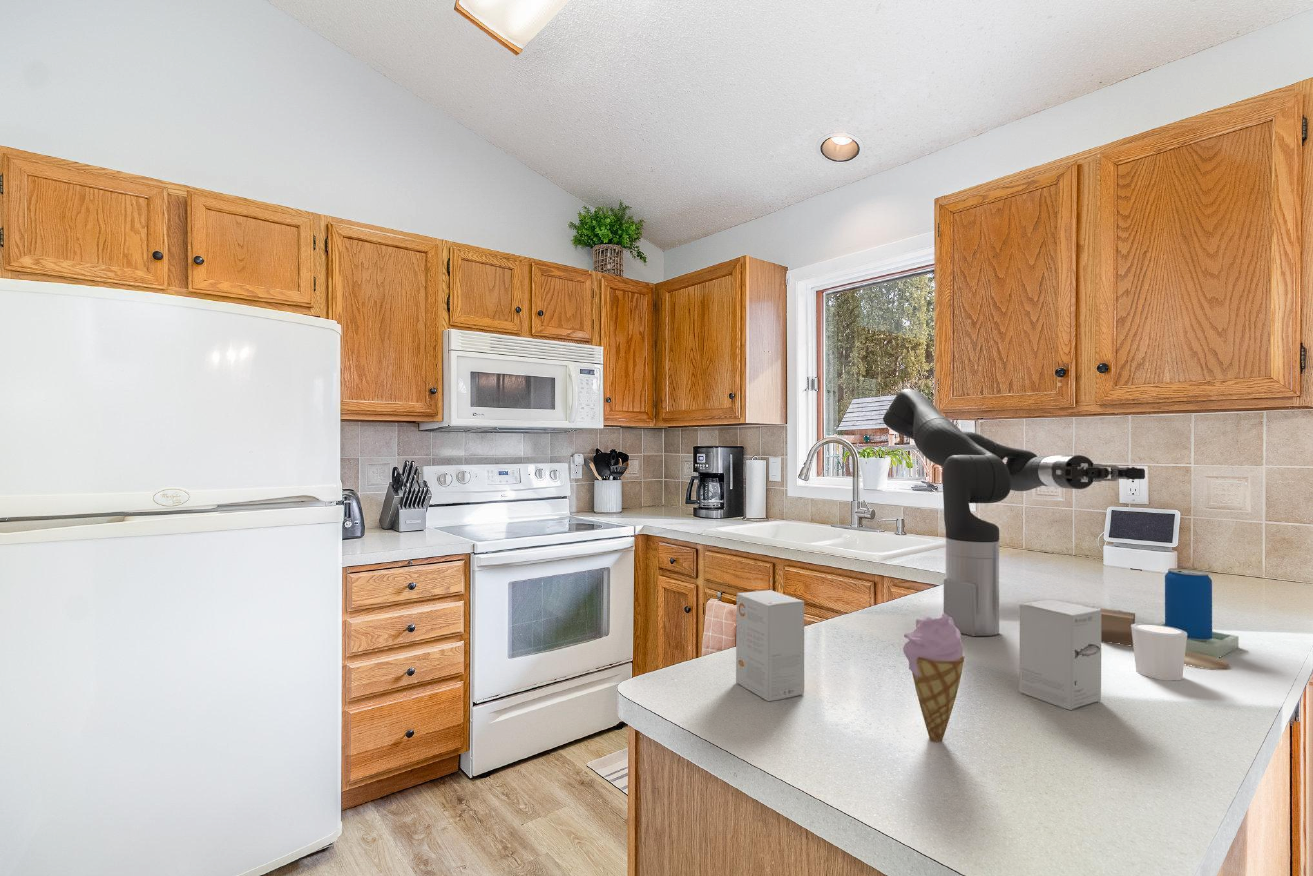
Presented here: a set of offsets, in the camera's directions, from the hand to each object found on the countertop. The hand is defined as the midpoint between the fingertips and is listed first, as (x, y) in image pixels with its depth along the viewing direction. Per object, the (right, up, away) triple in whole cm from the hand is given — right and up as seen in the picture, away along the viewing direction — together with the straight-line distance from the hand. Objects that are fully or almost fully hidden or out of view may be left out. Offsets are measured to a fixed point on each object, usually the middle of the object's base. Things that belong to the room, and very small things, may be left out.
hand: (1123, 473), depth 128 cm
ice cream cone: (-61, -28, -53) cm, 86 cm away
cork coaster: (-5, -30, -24) cm, 38 cm away
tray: (+1, -30, -15) cm, 33 cm away
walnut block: (-10, -30, -13) cm, 34 cm away
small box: (-78, -29, -38) cm, 91 cm away
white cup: (-17, -29, -30) cm, 45 cm away
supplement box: (-38, -29, -40) cm, 62 cm away
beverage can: (+1, -29, -15) cm, 32 cm away
